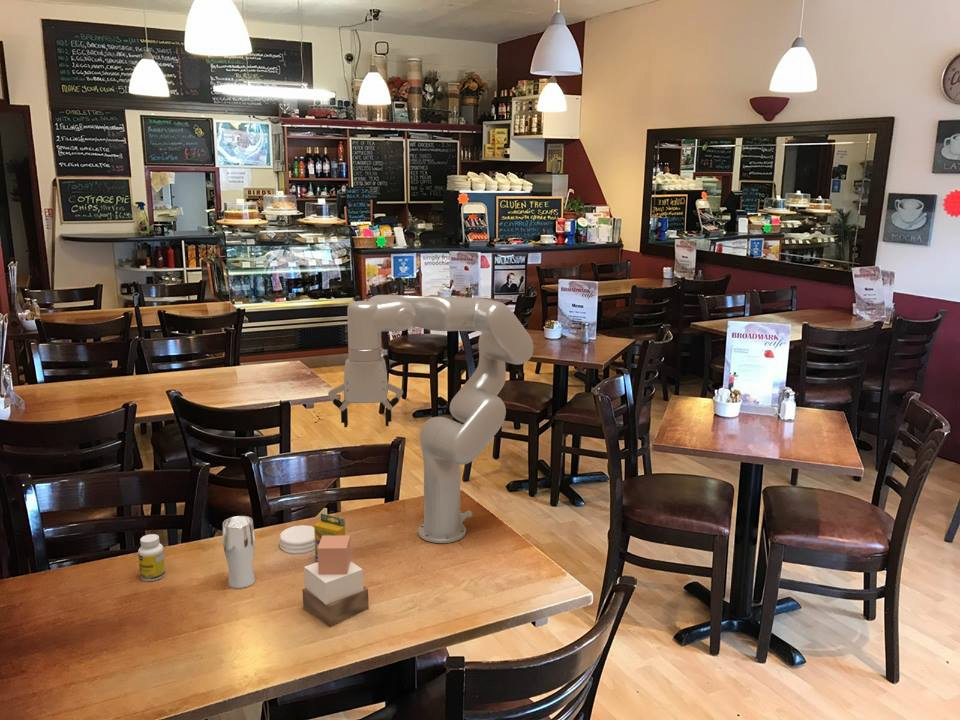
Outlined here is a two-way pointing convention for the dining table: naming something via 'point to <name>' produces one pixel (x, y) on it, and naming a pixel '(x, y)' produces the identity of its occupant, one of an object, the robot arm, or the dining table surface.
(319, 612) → the tower bottom
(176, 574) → the dining table surface
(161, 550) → the supplement bottle
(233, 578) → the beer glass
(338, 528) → the crayon box
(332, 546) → the terracotta cube
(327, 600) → the tower top
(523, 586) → the dining table surface
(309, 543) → the coaster
